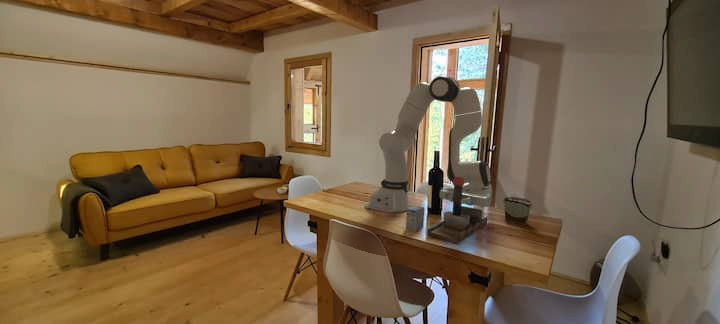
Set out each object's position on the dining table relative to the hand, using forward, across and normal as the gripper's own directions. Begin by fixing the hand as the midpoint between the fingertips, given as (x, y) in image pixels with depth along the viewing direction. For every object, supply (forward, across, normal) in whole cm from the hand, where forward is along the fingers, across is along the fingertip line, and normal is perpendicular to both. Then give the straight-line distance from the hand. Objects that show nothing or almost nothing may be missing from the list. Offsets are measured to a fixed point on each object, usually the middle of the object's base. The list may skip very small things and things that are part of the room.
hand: (456, 200), depth 122 cm
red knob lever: (-1, 0, +11) cm, 11 cm away
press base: (-4, 0, +13) cm, 14 cm away
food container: (-34, +15, +13) cm, 39 cm away
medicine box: (+7, -14, +13) cm, 21 cm away
